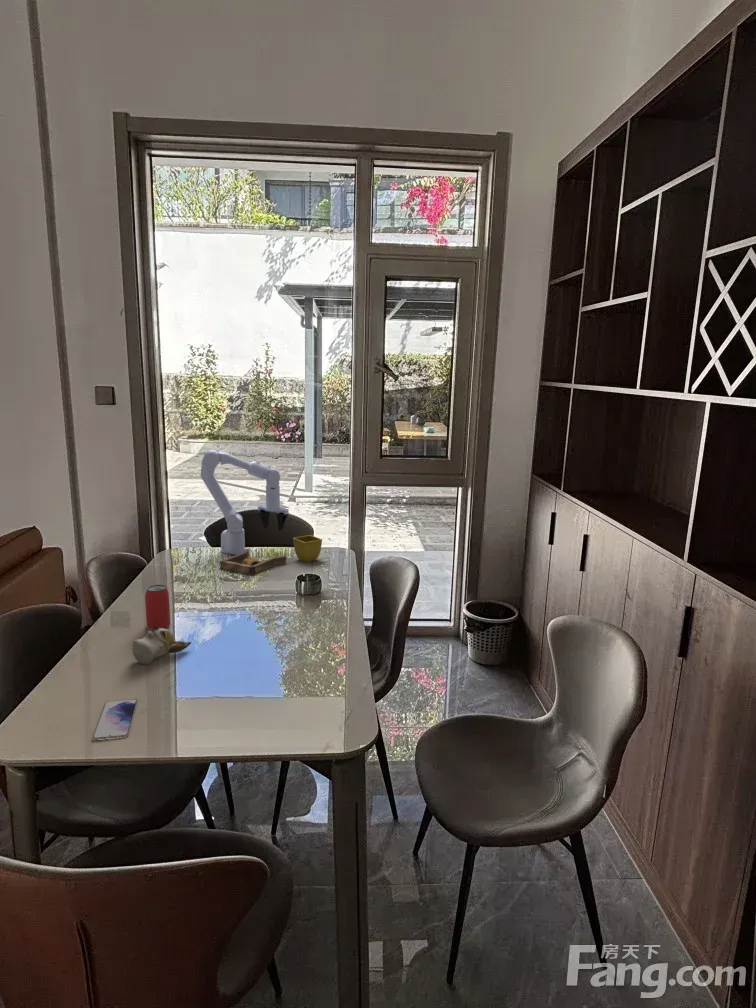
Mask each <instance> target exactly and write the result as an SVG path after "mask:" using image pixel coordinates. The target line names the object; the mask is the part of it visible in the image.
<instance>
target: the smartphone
mask: <svg viewBox="0 0 756 1008" xmlns="http://www.w3.org/2000/svg"><path fill="white" fill-rule="evenodd" d="M137 701H138V702H139V699H137V698H132V699H121V700H119V699H118V700H107V701H105V703H104V705H103V707H102V710H101V714H100V716H99V718H98V721H97V722H96V727H95V728H94V730H93V732H92V733H93V734H92V738H91V740H92V739H93V740H98V739H106V738H117V737H119V738H120V737H125V736H128V734H129V735H130V733H129V731H130V732H131V729H132V726H131V724H132V725H133V722H132V720H133V721H134V718H133V716H134V717H135V715H134V712H135V713H136V711H135V708H136V709H137V707H135V706H136V704H137ZM137 705H138V704H137ZM130 728H131V729H130ZM128 737H129V736H128ZM120 739H121V738H120Z"/></svg>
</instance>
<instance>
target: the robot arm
mask: <svg viewBox="0 0 756 1008" xmlns="http://www.w3.org/2000/svg"><path fill="white" fill-rule="evenodd" d="M219 464H220V465H221V466H222V465H228V464H229V465H231V466H234V467H238V468H239V469H240V468H241V469H244V470H245V471H246V472H247V473H248V475H251V476H253V477H255V478H258V479H261V480H266V481H265V482H266V485H265V505H257V511H258V512H257V513H258V515H259V517H260V519H261V521H262V525H263V528H264V529H267V528H269V526H270V525H269V518H270V513H277V514H276V515H275V516H276V518H277V526H278V528H277V530H278V531H283V529H284V526H285V522H286V520H287V517H288V516H289V513H290V512H289V508H286V507H282V506H281V497H280V496H281V492H280V490H281V489H280V488H281V487H280V480H281V475H280V472H279V470H278V469H276V468H275V467H273V466H272V467H271V466H270V465H265V464H263V463H260V461H259V460H256V461H255V460H253V461H250V462H249V461H247V460H244V459H242V458H240V457H237V456H235V455H233V454H231V453H227V452H225V451H222V450H217V449H215V448H210V449H208V450H207V451H206V452H205V453H204V455H203V457H202V460H201V465H200V478H201V479H202V481H203V483H204V484H205V486H206V488H207V489H208V491H209V493H210V494H211V496H212V498H213V500H214V501H215V502H216V504H217V506H218V507H219V509H220V511H221V513H222V515H223V517H224V519H225V522H226V524H227V525H226V526H227V529H225V530H223V531H222V532H221V533H220V550H219V552H220V553H225V554H231V555H234V556H235V555H237V554H240V553H243V551H244V550H245V549H246V547H245V546H246V542H245V529H244V528H243V527H244V522H243V521H244V518H243V516H242V515H241V514H240V513H238V512H237V510H236V509H235V507H234V506H233V505H232V503H231V502H230V501H229V497H227V495H226V494H225V492H224V490H223V488H222V487H221V485H220V484H219V482H218V480H217V478H216V476H215V472H216V471H215V470H216V468H217V467H218V465H219Z"/></svg>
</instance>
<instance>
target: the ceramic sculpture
mask: <svg viewBox="0 0 756 1008" xmlns="http://www.w3.org/2000/svg"><path fill="white" fill-rule="evenodd" d="M191 643H192V641H187V642H184V641H182V640H179V641H177V640H175V638H174V634H173V633H172V632H171V630H169V629H167V628H158V627H153V628H152V629H149V630H147V631H146V635H145V636H144V637H142V638H140V639H133V641H132V644H131V645H132V655H133V657H134V659H135V660H136V661H137V662H138V663H139V664H141V665H150V664H151V662H152V661H153V660H154V659H156V658H161V657H163V656H166V655H169V654H174V653H175V654H176V653H180V652H182V651H184V650H185V649H187V648H188V647H189V646H190V645H191Z"/></svg>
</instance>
